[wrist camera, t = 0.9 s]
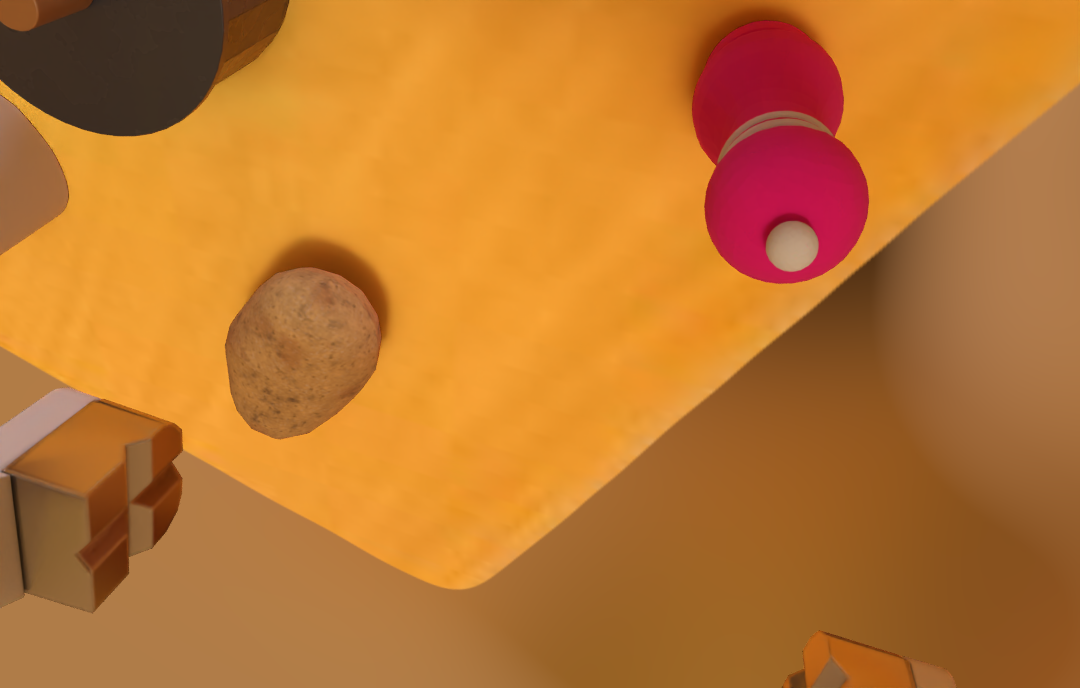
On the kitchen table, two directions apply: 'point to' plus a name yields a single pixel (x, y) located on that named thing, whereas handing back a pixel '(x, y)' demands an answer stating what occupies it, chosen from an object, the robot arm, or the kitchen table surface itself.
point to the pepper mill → (777, 155)
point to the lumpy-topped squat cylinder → (26, 179)
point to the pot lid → (113, 59)
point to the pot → (250, 31)
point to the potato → (300, 351)
